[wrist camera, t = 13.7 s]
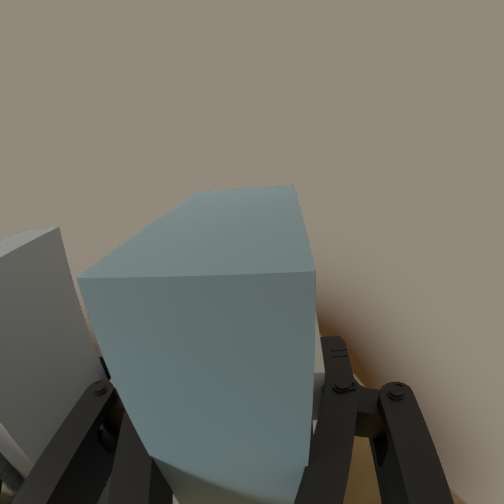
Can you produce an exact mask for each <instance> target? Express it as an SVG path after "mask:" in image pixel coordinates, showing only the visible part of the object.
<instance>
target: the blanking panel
mask: <svg viewBox="0 0 504 504" xmlns="http://www.w3.org/2000/svg"><path fill="white" fill-rule="evenodd" d="M77 281H78V285H79V288H80V291H81V295H82V298H83V301H84V304H85V308H86V311H87V314H88V317H89V320H90V323H91V326H92V328H93V331H94V334H95V337H96V340H97V343H98V345H99V348H100V351H101V353H102V356H103V358H104V361H105V363H106V366H107V368H108V371H109V373H110V375H111V378H112V380H113V383H114V385H115V387H116V389H117V392H118V394H119V396H120V398H121V400H122V403H123V405H124V407H125V409H126V411H127V413H128V415H129V417H130V419H131V421H132V423H133V425H134V427H135V429H136V431H137V433H138V435H139V437H140V439H141V441H142V443H143V444H144V446H145V448H146V450H147V452H148V454H149V455H150V456H152V457H153V459H154V461H155V463H156V464H157V466H158V468H159V469H160V471H161V473H162V475H163V476H164V478H165V480H166V481H167V483H168V484H169V486H170V488H171V489H172V491H173V495H174V497H175V498H176V500H177V501H178V503H179V504H294V501H295V498H296V495H297V492H298V488H299V485H300V482H301V478H302V475H303V472H304V468H305V466H308V460H309V448H310V436H311V421H312V405H313V386H314V361H315V321H316V270H315V266H314V262H313V257H312V253H311V249H310V245H309V241H308V237H307V233H306V229H305V225H304V221H303V217H302V213H301V209H300V205H299V201H298V197H297V194H296V190H295V187H294V185H292V186H273V187H258V188H243V189H230V190H217V191H206V192H198V193H197V194H195V195H194V196H192V197H191V198H189V199H188V200H186V201H185V202H183V203H182V204H180V205H178V206H177V207H175V208H174V209H172V210H171V211H169V212H168V213H166V214H165V215H164V216H162V217H161V218H159V219H158V220H156V221H155V222H153V223H152V224H150V225H149V226H147V227H146V228H144V229H143V230H142V231H140V232H139V233H137V234H136V235H135V236H133V237H132V238H130V239H129V240H127V241H126V242H125V243H123V244H122V245H120V246H119V247H118V248H116V249H115V250H114V251H112V252H111V253H109V254H108V255H107V256H105V257H104V258H103V259H101V260H100V261H99V262H97V263H96V264H95V265H93V266H92V267H91V268H89V269H88V270H87V271H85V272H84V273H83V274H81V275H80V276H79V277H78V278H77Z"/></svg>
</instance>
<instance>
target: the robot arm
mask: <svg viewBox="0 0 504 504" xmlns="http://www.w3.org/2000/svg"><path fill="white" fill-rule="evenodd" d="M312 420H317V423H316V427H315V431H314V435H313V439H312V443H311V447H310V450H309V460H308V466H305V468H304V472H303V475H302V478H301V482H300V485H299V488H298V492H297V495H296V498H295V501H294V504H343V500H344V495H345V490H346V484H347V479H348V473H349V467H350V461H351V455H352V448H353V441H354V436H360V437H367V438H369V441H370V446H371V450H372V455H373V460H374V465H375V470H376V475H377V480H378V485H379V490H380V496H381V501H382V504H454V502H453V499H452V496H451V493H450V490H449V486H448V483H447V480H446V477H445V474H444V472H443V469H442V466H441V463H440V460H439V457H438V455H437V452H436V449H435V446H434V444H433V441H432V438H431V436H430V433H429V431H428V428H427V425H426V423H425V421H424V418H423V415H422V413H421V410H420V408H419V406H418V403H417V401H416V398H415V396H414V394H413V391H412V390H411V388H410V387H409V386H407V385H406V384H404V383H400V382H390V383H387V384H385V385H384V386H383V387H382V388H381V390H375V389H369V388H365V387H363V386H361V385H359V383H358V382H357V381H356V380H355V379H354V376H353V372H352V368H351V364H350V360H349V357H348V352H347V348H346V344H345V342H344V341H343V340H342V339H341V338H340V336H331V337H320V334H319V329H318V322H317V316H316V321H315V361H314V386H313V405H312ZM100 426H101V427H100ZM111 473H112V475H111ZM110 475H111V481H110V487H109V493H108V499H107V504H173V491H172V489H171V488H170V486H169V484H168V483H167V481H166V480H165V478H164V476H163V475H162V473H161V471H160V469H159V468H158V466H157V464H156V463H155V461H154V459H153V457H152V456H150V455H149V454H148V452H147V450H146V448H145V446H144V444H143V443H142V441H141V439H140V437H139V435H138V433H137V431H136V429H135V427H134V425H133V423H132V421H131V419H130V417H129V415H128V413H127V411H126V409H125V407H124V405H123V403H122V400H121V398H120V396H119V394H118V392H117V389H116V388H114V386H113V384H112V383H111V382H110V381H107V380H99V381H95V382H94V383H92V384H90V385H89V386H88V387H87V389H86V390H85V392H84V393H83V394H82V396H81V397H80V399H79V400H78V401H77V403H76V404H75V406H74V407H73V409H72V410H71V411H70V413H69V414H68V416H67V417H66V419H65V420H64V422H63V423H62V425H61V426H60V427H59V429H58V430H57V432H56V433H55V435H54V436H53V438H52V439H51V441H50V442H49V444H48V445H47V447H46V448H45V450H44V451H43V453H42V454H41V456H40V458H39V459H38V461H37V462H36V464H35V465H34V467H33V468H32V470H31V472H30V473H29V475H28V476H27V478H26V479H25V481H24V483H23V484H22V486H21V488H20V489H19V491H18V492H17V494H16V496H15V497H14V499H13V501H12V502H11V504H97V503H98V501H99V498H100V496H101V494H102V492H103V490H104V488H105V486H106V484H107V481H108V479H109V477H110Z"/></svg>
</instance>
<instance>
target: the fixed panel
mask: <svg viewBox="0 0 504 504" xmlns="http://www.w3.org/2000/svg"><path fill="white" fill-rule="evenodd" d="M99 380H107V381H108V378H107V376H106V374H105V371H104V369H103V366H102V364H101V362H100V359H99V357H98V354H97V351H96V349H95V346H94V344H93V341H92V338H91V336H90V333H89V330H88V327H87V324H86V321H85V319H84V316H83V313H82V310H81V306H80V303H79V300H78V297H77V294H76V290H75V287H74V284H73V280H72V276H71V273H70V269H69V266H68V262H67V258H66V254H65V250H64V246H63V241H62V237H61V232H60V228H59V227H53V228H45V229H38V230H32V231H24V232H19V233H17V234H15V235H13V236H11V237H8V238H7V239H4V240H2V241H0V452H1V453H2V454H3V456H4V457H5V458H6V459H7V460H8V461H9V463H10V464H11V465H12V466H13V467H14V468H15V469H16V470H17V471H18V472H19V474H20V475H21V476H22V477H23V478H24V479H26V478H27V476H28V475H29V473H30V472H31V470H32V468H33V467H34V465H35V464H36V462H37V461H38V459H39V458H40V456H41V454H42V453H43V451H44V450H45V448H46V447H47V445H48V444H49V442H50V441H51V439H52V438H53V436H54V435H55V433H56V432H57V430H58V429H59V427H60V426H61V425H62V423H63V422H64V420H65V419H66V417H67V416H68V414H69V413H70V411H71V410H72V409H73V407H74V406H75V404H76V403H77V401H78V400H79V399H80V397H81V396H82V394H83V393H84V392H85V390H86V389H87V387H88V386H89V385H90V384H92V383H94V382H95V381H99Z"/></svg>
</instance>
